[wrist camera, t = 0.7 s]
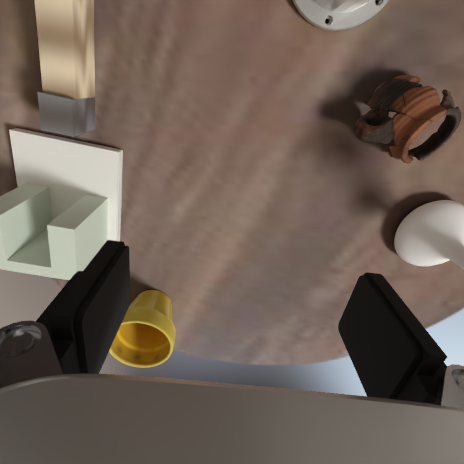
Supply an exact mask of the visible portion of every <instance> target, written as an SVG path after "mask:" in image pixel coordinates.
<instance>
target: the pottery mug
mask: <svg viewBox="0 0 464 464" xmlns="http://www.w3.org/2000/svg"><path fill="white" fill-rule="evenodd" d="M416 82H420V78H419V77H416V76H409V75H399V76H397V77H394V78H392V79H390V80H388V81H387V82H385V83H384V84H383V85H382V86H380V87H379V88H378V89H377V90H376V91H375V92H374V93H373V95H372V96H371V98H370V99H369V101H368V103H367V105H368V106H370V108H371V109H372V110H370V111H369V112H367V114H365V115H363V116H361V117H360V118H359V119H358V120H357V122H356V123H355V135H356V136H357V137H358V138H359V139H361V140H362V141H365V142H370V143H375V142H378V143H383V144H388V143H390V142H391V141H392V139H394V142H395V144H391V145H390V146H389V149H390V152H389V153H388V154H389V155H390V156H391V157H394V158H395V159H401V160H402V161H403V162H404V163H410V162H411V161H413V158H412V157H416V158H417V159H418V160H423V159H425V158H427V157H428V156H430V155H431V154H433V153H434V152H435V151H437V150H438V149H439V148H440V147H441V146H442V145H443V144H444V143H445V142H446V141H447V140H448V139H449V138H450V137H451V136H452V134H453V133H454V132H455V131H456V129H457V127H458V126H459V123H460V121H461V112H460V110H459V107H456V108H454V101H453V98H452V96H451V93H450V92H449V91H447V90H443V91H442V93H443V95H444V97H443V100H442V102H441V103H440V99H439V95H438V93H437V90H436V89H434V88H433V87H431V86H425V87H422V85H421V84H419V83H416ZM389 111H391V112H396V113H397V114H395V115H394V116H393V118H391V117H388V114H389ZM445 115H446V118H445V120H444V122H443V123H442V124H441V126H440V127H439V129H438V131H437V132H436V133H434V134H432V135H431V136H430V137H429V138H428V139H427V140H426V141H425V142H424V143H423V144H422V145H420V146H418V147H416V148H413V149H411V150H409V146H410V145H411V144H412V142H413V141H414V139H415V138H416V137H417V136H418V135H419V134H420V132H421V131H422V130H424V128H426V127H427V126H428V125H429V124H430V123H431V122H434V121H435V120H437V119H439V118H441V117H443V116H445Z"/></svg>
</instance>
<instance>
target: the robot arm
mask: <svg viewBox="0 0 464 464" xmlns="http://www.w3.org/2000/svg"><path fill="white" fill-rule="evenodd" d="M292 1H293V3H294V5H295V7H296V8H297V10H298V11H299V13H300V14H301V15H302V16H303V17H304V18H305V19H306V20H307V21H308V22H309V23H311V24H312V25H314V26H315V27H317V28H320V29H323V30H326V31H343V30H348V29H351V28H354V27H356V26H358V25H360V24H362V23H364V22H366V21H367V20H369V19H370V18H371V17H373V16H374V15H376V14H377V13H378V12H379V11H380V10H381V9H382V8H383V7H384V6H385V4H386V3H387V2H388V0H377V2H378V3H377V5H376V4H375V0H292ZM326 19H328V21H329V22H328V24H326V23H325V20H326ZM129 304H130V269H129V247H128V246H125V244H124V242H121V241H113V240H107V241H106V242H105V244H104V245H103V246H102V248H101V249H100V250H99V251H98V253H97V254H96V255H95V256H94V258H93V259H92V260H91V262H90V263H89V264H88V265H87V267H86V268H85V269H84V270H83V271H78V272H76V273H75V274H74V275H73V277H72V278H71V279H70V280H69V281H68V283H67V284H66V285H65V286H64V288H63V289H62V290H61V291H60V293H59V294H58V295H57V296H56V297H55V299H54V300H53V301H52V302H51V303H50V305H49V306H48V307H47V308H46V310H45V311H44V312H43V313H42V314H41V316H40V317H39V318H38V319H37V321H21V322H17V323H12V324H10V325H7V326H5V327H2V328H1V329H0V464H464V366H460V365H450V366H448V367H447V366H446V365H445V363H444V361H445V359H446V358H447V356H446V355H445V353H444V352H443V351H442V350H441V348H440V347H439V346H438V345H437V343H436V342H435V341H434V340H433V338H432V337H431V336H430V335H429V333H428V332H427V331H426V330H425V328H424V327H423V326H422V325H421V323H420V322H419V321H418V319H417V318H416V317H415V316H414V314H413V313H412V312H411V311H410V309H409V308H408V307H407V306H406V304H405V303H404V302H403V301H402V299H401V298H400V297H399V296H398V294H397V293H396V292H395V291H394V289H393V288H392V287H391V286H390V284H389V283H388V282H387V280H386V279H385V278H384V277H383V276H382V275H381V274H375V273H365V274H364V275H362V276H360V277H359V279H358V281H357V283H356V285H355V288H354V290H353V292H352V295H351V297H350V299H349V301H348V304H347V306H346V308H345V310H344V313H343V315H342V317H341V320H340V322H339V326H338V329H339V333H340V335H341V337H342V340H343V342H344V344H345V346H346V349H347V351H348V353H349V356H350V358H351V360H352V362H353V365H354V367H355V369H356V371H357V373H358V376H359V378H360V381H361V383H362V385H363V387H364V390H365V392H366V394H367V397H366V396H355V395H345V394H335V393H324V392H315V391H304V390H293V389H282V388H272V387H260V386H249V385H239V384H228V383H216V382H204V381H193V380H181V379H170V378H158V377H142V376H128V375H115V374H99V372H100V370H101V367H102V365H103V363H104V361H105V359H106V356H107V354H108V352H109V350H110V348H111V345H112V343H113V341H114V339H115V337H116V334H117V332H118V330H119V328H120V326H121V323H122V321H123V319H124V317H125V315H126V312H127V310H128V308H129Z"/></svg>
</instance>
